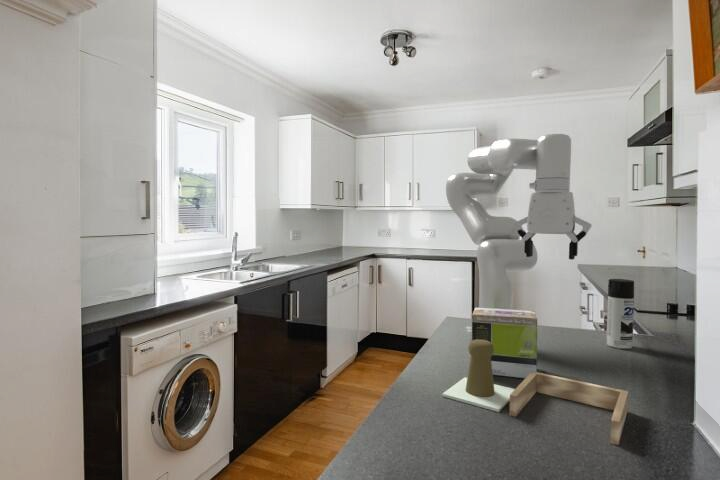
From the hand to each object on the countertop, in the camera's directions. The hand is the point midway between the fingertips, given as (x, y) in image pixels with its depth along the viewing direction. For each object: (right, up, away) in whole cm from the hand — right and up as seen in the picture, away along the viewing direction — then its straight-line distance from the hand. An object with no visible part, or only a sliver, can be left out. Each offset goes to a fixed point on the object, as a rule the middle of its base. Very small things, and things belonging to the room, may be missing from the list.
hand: (550, 257), depth 104 cm
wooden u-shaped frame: (-6, -29, -21) cm, 36 cm away
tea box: (-10, -28, +3) cm, 30 cm away
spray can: (+31, -28, +24) cm, 48 cm away
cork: (-20, -28, -12) cm, 37 cm away
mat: (-20, -29, -12) cm, 37 cm away
